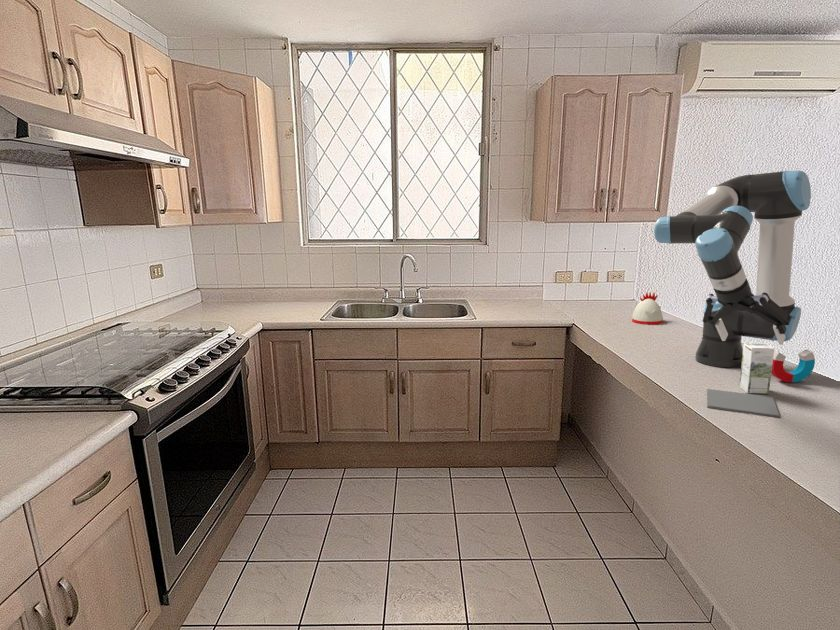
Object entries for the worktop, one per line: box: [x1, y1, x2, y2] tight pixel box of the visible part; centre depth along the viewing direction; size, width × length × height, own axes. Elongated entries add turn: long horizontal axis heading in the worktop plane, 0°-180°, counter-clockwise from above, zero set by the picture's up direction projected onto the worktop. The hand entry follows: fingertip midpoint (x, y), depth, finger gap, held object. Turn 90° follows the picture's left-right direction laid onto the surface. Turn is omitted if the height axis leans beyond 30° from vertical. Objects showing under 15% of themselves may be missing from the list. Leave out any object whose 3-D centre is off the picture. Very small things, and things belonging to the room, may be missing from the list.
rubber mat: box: [706, 388, 780, 418], centre depth 129 cm, size 14×16×1 cm
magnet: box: [771, 349, 816, 383], centre depth 142 cm, size 12×3×10 cm, turn 84°
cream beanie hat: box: [631, 291, 664, 326], centre depth 227 cm, size 14×14×15 cm
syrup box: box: [738, 342, 775, 395], centre depth 136 cm, size 6×6×14 cm
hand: (752, 339), depth 126 cm, fingers open, 13 cm apart
